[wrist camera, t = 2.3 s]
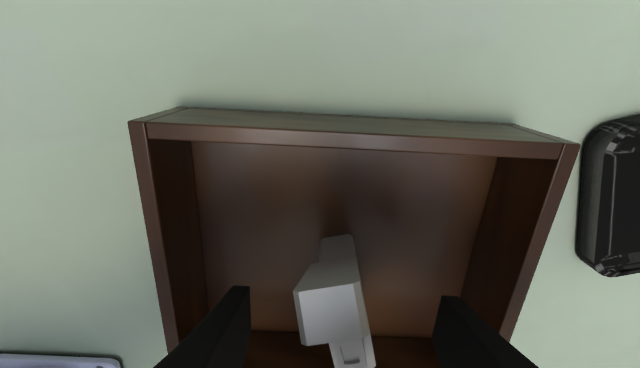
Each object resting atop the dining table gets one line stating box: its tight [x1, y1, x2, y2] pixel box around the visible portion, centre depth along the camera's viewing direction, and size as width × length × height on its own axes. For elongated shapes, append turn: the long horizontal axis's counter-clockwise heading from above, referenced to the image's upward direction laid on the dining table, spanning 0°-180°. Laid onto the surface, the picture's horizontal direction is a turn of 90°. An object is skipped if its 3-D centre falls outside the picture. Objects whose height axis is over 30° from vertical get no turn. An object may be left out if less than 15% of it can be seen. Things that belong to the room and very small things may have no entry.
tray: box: [128, 107, 581, 368], centre depth 14 cm, size 15×13×4 cm
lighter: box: [293, 234, 376, 368], centre depth 12 cm, size 7×2×8 cm, turn 11°
